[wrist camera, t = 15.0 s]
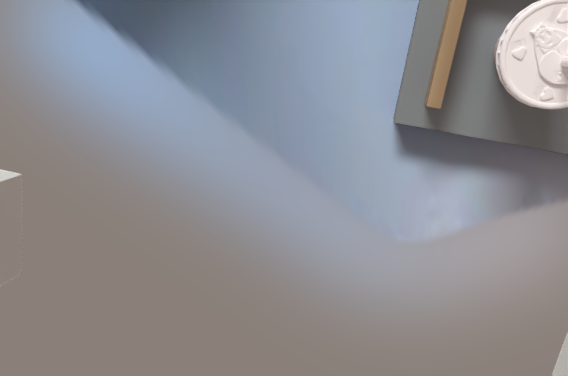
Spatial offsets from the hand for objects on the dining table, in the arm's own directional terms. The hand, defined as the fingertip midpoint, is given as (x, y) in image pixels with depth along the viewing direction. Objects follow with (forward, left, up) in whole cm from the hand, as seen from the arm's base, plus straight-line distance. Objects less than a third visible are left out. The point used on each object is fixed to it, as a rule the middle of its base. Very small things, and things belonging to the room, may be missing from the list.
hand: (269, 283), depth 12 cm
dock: (+11, +6, -35) cm, 37 cm away
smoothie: (+11, +7, -32) cm, 34 cm away
